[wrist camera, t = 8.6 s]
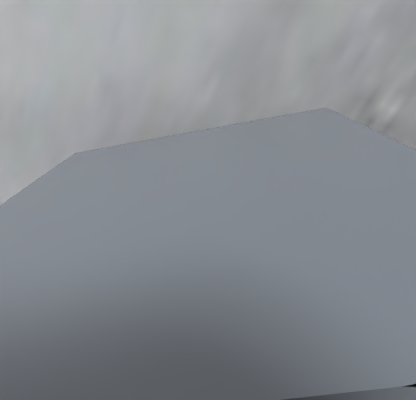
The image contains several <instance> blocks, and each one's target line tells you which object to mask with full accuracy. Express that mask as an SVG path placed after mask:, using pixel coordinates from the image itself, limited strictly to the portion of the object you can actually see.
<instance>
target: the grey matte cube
mask: <svg viewBox="0 0 416 400" xmlns="http://www.w3.org/2000/svg"><path fill="white" fill-rule="evenodd" d="M0 400H416V149H414V148H412V147H410V146H407V145H405V144H403V143H401V142H399V141H397V140H395V139H392V138H390V137H388V136H386V135H384V134H382V133H380V132H377V131H375V130H373V129H371V128H369V127H367V126H364V125H362V124H360V123H358V122H356V121H354V120H352V119H349V118H347V117H345V116H343V115H341V114H339V113H337V112H334V111H332V110H330V109H328V108H322V109H317V110H311V111H306V112H300V113H295V114H289V115H283V116H278V117H272V118H267V119H261V120H256V121H250V122H245V123H239V124H234V125H228V126H223V127H217V128H212V129H206V130H201V131H195V132H190V133H184V134H179V135H173V136H168V137H162V138H157V139H151V140H145V141H140V142H134V143H129V144H123V145H118V146H112V147H107V148H101V149H96V150H90V151H85V152H79V153H75V154H73V155H72V156H70V157H69V158H68V159H66V160H65V161H63V162H62V163H60V164H59V165H58V166H56V167H55V168H53V169H52V170H50V171H49V172H48V173H46V174H45V175H43V176H42V177H40V178H39V179H38V180H36V181H35V182H33V183H32V184H30V185H29V186H27V187H26V188H25V189H23V190H22V191H20V192H19V193H17V194H16V195H15V196H13V197H12V198H10V199H9V200H7V201H6V202H5V203H3V204H2V205H0Z"/></svg>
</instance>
